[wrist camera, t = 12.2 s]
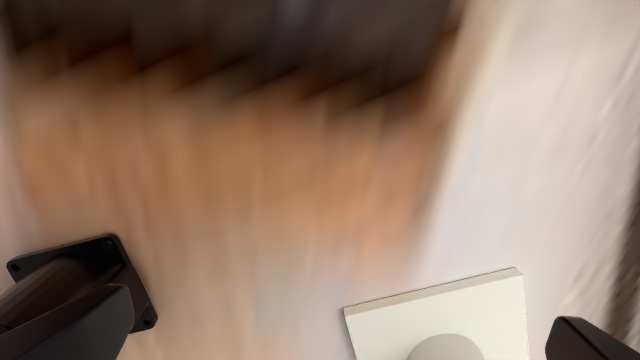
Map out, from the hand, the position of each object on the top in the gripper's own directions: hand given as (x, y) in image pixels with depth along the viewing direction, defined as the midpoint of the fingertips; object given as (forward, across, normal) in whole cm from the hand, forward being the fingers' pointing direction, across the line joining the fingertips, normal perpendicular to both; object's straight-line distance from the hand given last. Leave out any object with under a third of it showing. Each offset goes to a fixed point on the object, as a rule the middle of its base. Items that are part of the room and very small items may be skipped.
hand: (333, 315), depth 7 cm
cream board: (+12, -7, +14) cm, 20 cm away
